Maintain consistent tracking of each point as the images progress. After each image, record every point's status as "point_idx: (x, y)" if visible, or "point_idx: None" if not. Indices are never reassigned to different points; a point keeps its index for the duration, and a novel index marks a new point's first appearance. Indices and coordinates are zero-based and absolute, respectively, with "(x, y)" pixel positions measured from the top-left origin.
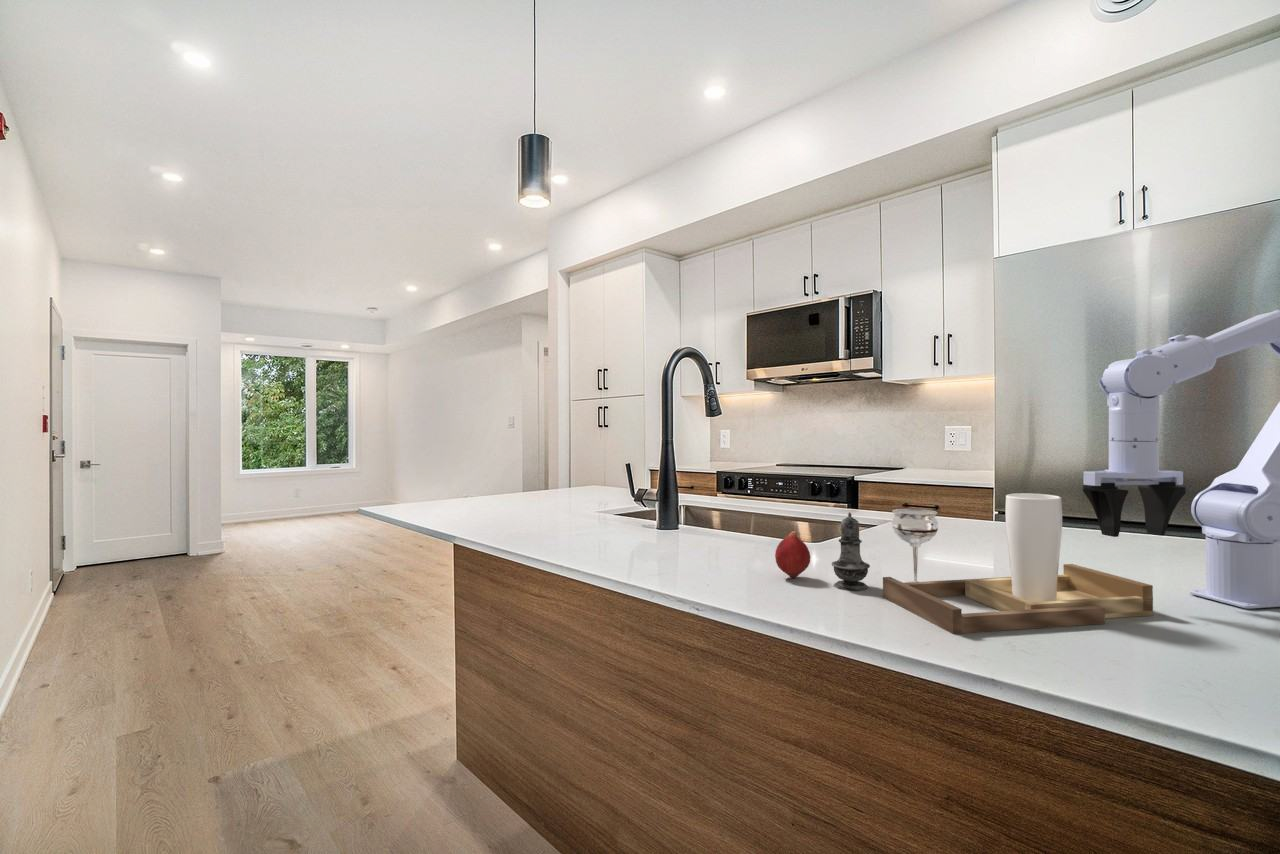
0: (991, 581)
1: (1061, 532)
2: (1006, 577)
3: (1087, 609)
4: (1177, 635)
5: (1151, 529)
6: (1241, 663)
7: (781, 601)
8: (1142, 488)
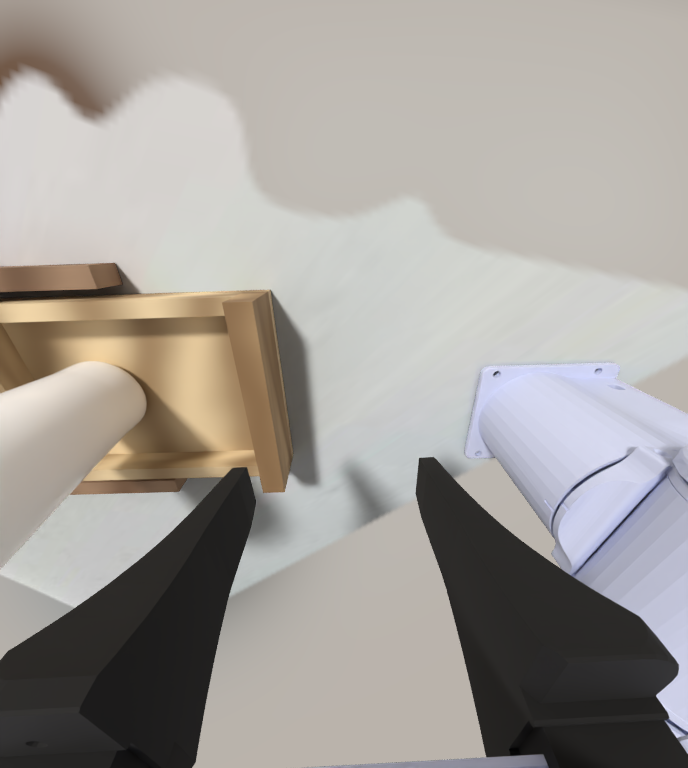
0: (11, 321)
1: (10, 558)
2: (72, 270)
3: (148, 491)
4: (255, 513)
5: (422, 480)
6: (251, 569)
7: None
8: (528, 654)
